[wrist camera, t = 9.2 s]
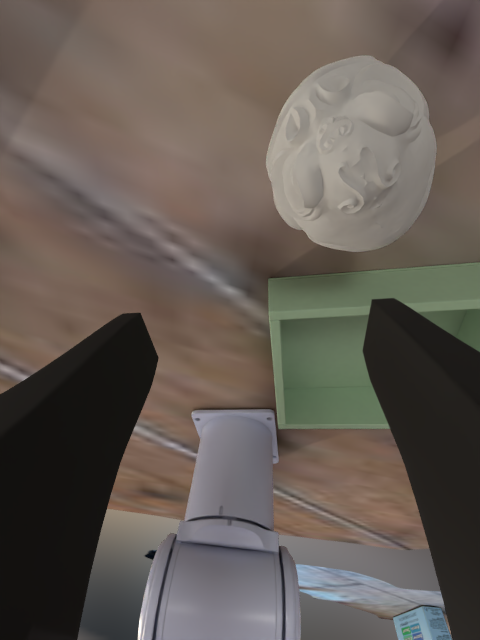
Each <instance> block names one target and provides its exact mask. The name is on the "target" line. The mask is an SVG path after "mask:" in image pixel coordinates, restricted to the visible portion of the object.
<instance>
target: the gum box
mask: <svg viewBox="0 0 480 640" xmlns="http://www.w3.org/2000/svg"><path fill="white" fill-rule="evenodd" d="M393 620H394V624H395V628H396V632H397V636H398V640H452V638H451V635H450V633H449V630H448V627H447V624H446V621H445V618H444V615H443V612H442V609H441V608H438V607H429V606H421V607H419V608H417V609H414V610H412V611H409V612H406V613H404V614H401V615H398V616H396V617H393Z"/></svg>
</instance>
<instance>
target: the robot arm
mask: <svg viewBox="0 0 480 640" xmlns="http://www.w3.org/2000/svg"><path fill="white" fill-rule="evenodd" d="M363 355H364V359H365V363H366V367H367V371H368V374H369V378H370V381H371V384H372V386H373V389H374V391H375V393H376V396H377V398H378V401H379V403H380V406H381V408H382V410H383V413H384V415H385V417H386V420H387V422H388V425H389V427H390V429H391V432H392V434H393V436H394V439H395V441H396V444H397V446H398V448H399V451H400V454H401V456H402V459H403V462H404V464H405V467H406V470H407V473H408V477H409V480H410V483H411V486H412V490H413V493H414V496H415V499H416V503H417V506H418V509H419V513H420V516H421V520H422V523H423V527H424V530H425V534H426V537H427V541H428V544H429V548H430V551H431V556H432V559H433V563H434V567H435V571H436V575H437V578H438V582H439V586H440V590H441V594H442V597H443V601H444V605H445V610H446V614H447V618H448V622H449V626H450V630H451V634H452V638H453V640H480V352H479V351H477V350H476V349H474V348H472V347H471V346H469V345H467V344H466V343H464V342H462V341H461V340H459V339H458V338H456V337H454V336H453V335H451V334H450V333H448V332H447V331H445V330H443V329H442V328H440V327H439V326H437V325H436V324H434V323H433V322H431V321H430V320H428V319H427V318H425V317H424V316H422V315H421V314H419V313H417V312H416V311H414V310H413V309H411V308H410V307H408V306H407V305H405V304H404V303H402V302H400V301H399V300H397V299H395V298H385V299H372V301H371V307H370V312H369V318H368V323H367V329H366V334H365V340H364V345H363ZM157 362H158V355H157V353H156V351H155V348H154V346H153V343H152V341H151V338H150V336H149V333H148V331H147V328H146V326H145V323H144V321H143V318H142V316H141V313H127V314H122V315H120V316H118V317H116V318H115V319H113V320H112V321H110V322H109V323H107V324H106V325H104V326H103V327H101V328H100V329H98V330H97V331H96V332H94V333H93V334H91V335H90V336H89V337H87V338H86V339H84V340H83V341H81V342H80V343H79V344H77V345H76V346H74V347H73V348H72V349H70V350H69V351H67V352H66V353H64V354H63V355H62V356H60V357H59V358H57V359H56V360H54V361H53V362H51V363H50V364H48V365H47V366H45V367H43V368H42V369H40V370H39V371H37V372H36V373H34V374H33V375H31V376H30V377H28V378H27V379H25V380H24V381H22V382H20V383H19V384H17V385H15V386H14V387H12V388H10V389H9V390H7V391H5V392H4V393H2V394H0V640H77V638H78V632H79V627H80V622H81V617H82V612H83V607H84V602H85V597H86V592H87V587H88V583H89V578H90V573H91V569H92V565H93V561H94V557H95V552H96V548H97V544H98V540H99V536H100V532H101V528H102V524H103V521H104V517H105V513H106V510H107V506H108V502H109V499H110V495H111V492H112V489H113V485H114V482H115V479H116V475H117V472H118V469H119V465H120V462H121V460H122V457H123V454H124V451H125V449H126V446H127V444H128V441H129V439H130V437H131V434H132V432H133V429H134V427H135V425H136V422H137V420H138V417H139V415H140V413H141V410H142V408H143V405H144V403H145V400H146V398H147V396H148V393H149V391H150V388H151V385H152V382H153V378H154V375H155V371H156V367H157ZM191 416H192V419H193V421H194V424H195V426H196V429H197V432H198V434H199V437H200V439H201V440H200V445H199V450H198V455H197V460H196V465H195V470H194V475H193V480H192V485H191V490H190V495H189V500H188V505H187V510H186V515H185V520H184V521H180V523H179V528H178V532H177V534H173V533H171V534H169V535H168V536H167V538H166V539H165V540H164V541H163V542H161V544H160V545H159V547H158V549H157V552H156V554H155V557H154V560H153V563H152V566H151V570H150V574H149V577H148V581H147V585H146V589H145V594H144V599H143V604H142V609H141V615H140V621H139V629H138V640H300V636H301V615H300V595H299V584H298V576H297V570H296V565H295V562H294V560H293V558H292V556H291V555H290V554H289V552H288V550H287V548H286V547H284V546H279V538H278V536H279V535H278V532H275V531H274V515H273V463H278V462H279V457H278V446H277V435H276V425H275V414H274V411H273V410H271V409H244V410H194V411H193V412H192V415H191Z"/></svg>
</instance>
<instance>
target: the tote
mask: <svg viewBox="0 0 480 640" xmlns="http://www.w3.org/2000/svg"><path fill="white" fill-rule="evenodd" d="M268 298H269V323H270V335H271V347H272V359H273V371H274V383H275V395H276V407H277V419H278V429H390V427H389V425H388V422H387V420H386V417H385V415H384V413H383V410H382V408H381V406H380V403H379V401H378V398H377V396H376V393H375V391H374V389H373V386H372V384H371V381H370V378H369V374H368V371H367V367H366V363H365V359H364V355H363V345H364V340H365V334H366V329H367V323H368V318H369V312H370V307H371V301H372V299H385V298H395V299H397V300H399V301H400V302H402V303H404V304H405V305H407V306H408V307H410V308H411V309H413V310H414V311H416V312H417V313H419V314H421V315H422V316H424V317H425V318H427V319H428V320H430V321H431V322H433V323H434V324H436V325H437V326H439V327H440V328H442V329H443V330H445V331H447V332H448V333H450V334H451V335H453V336H454V337H456V338H458V339H459V340H461V341H462V342H464V343H466V344H467V345H469V346H471V347H472V348H474V349H476V350H477V351H479V352H480V262H477V263H464V264H451V265H438V266H425V267H412V268H399V269H385V270H372V271H359V272H346V273H333V274H320V275H307V276H294V277H281V278H269V279H268Z"/></svg>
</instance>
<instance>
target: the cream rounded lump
mask: <svg viewBox="0 0 480 640" xmlns="http://www.w3.org/2000/svg"><path fill="white" fill-rule="evenodd" d="M436 148H437V144H436V139H435V135H434V130H433V128H432V127H431V124H430V122H429V109H428V105H427V102H426V100H425V98H424V97H423V95H422V93H421V92H420V90H419V89H418V87H417V86H416V85H415V84H414V83H413V82H412V81H411V80H410V79H409V78H408V77H407V76H405V75H404V74H403V73H402V72H401V71H399V70H398V69H397V68H395V67H393V66H390V65H388V64H383V63H382V62H381V61H378V60H376V59H375V58H374V57H372V56H367V55H363V56H355V57H351V58H347V59H343V60H339V61H336V62H333V63H330V64H327V65H325V66H323V67H321V68H319V69H317V70H316V71H314V72H313V73H312V74H310V75H309V76H308V77H307V78H306V79H304V80H303V81H302V83H301V84H300V85H299V86H298V87H297V88H296V89H295V90H294V91H293V92H292V94H291V95H290V97H289V98H288V100H287V101H286V103H285V104H284V106H283V108H282V110H281V112H280V114H279V117H278V120H277V123H276V126H275V129H274V132H273V135H272V138H271V141H270V144H269V148H268V152H267V156H266V167H267V170H268V176H269V178H270V180H271V184H272V188H273V198H274V202H275V206H276V208H277V210H278V212H279V214H280V215H281V217H282V218H283V219H284V221H285V222H286V223H287V224H288V225H289V226H291V227H292V228H294V229H297V230H304V231H305V232H306V233H307V236H308V237H309V238H310V239H311V240H312V241H313V242H315V243H317V244H319V245H322V246H325V247H328V248H332V249H337V250H344V251H350V252H365V251H371V250H375V249H380V248H382V247H385V246H387V245H389V244H391V243H392V242H394V241H396V240H397V239H398V238H400V237H401V236H402V235H403V234H405V233H406V232H407V231H408V230H409V229H410V228H411V226H412V225H413V223H414V222H415V221H416V219H417V218H418V216H419V215H420V214H421V212H422V210H423V208H424V206H425V204H426V202H427V199H428V195H429V192H430V189H431V185H432V180H433V176H434V169H435V157H436V154H437V153H436Z"/></svg>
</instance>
